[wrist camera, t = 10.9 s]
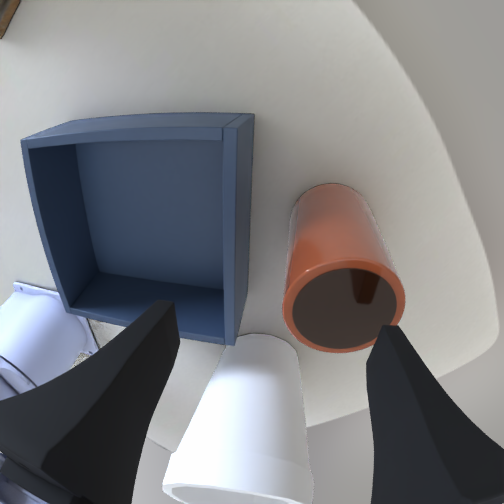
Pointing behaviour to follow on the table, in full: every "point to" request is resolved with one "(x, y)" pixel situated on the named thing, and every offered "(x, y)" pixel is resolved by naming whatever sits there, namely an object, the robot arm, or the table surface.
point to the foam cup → (246, 431)
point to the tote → (147, 216)
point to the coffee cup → (338, 273)
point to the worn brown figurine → (6, 13)
